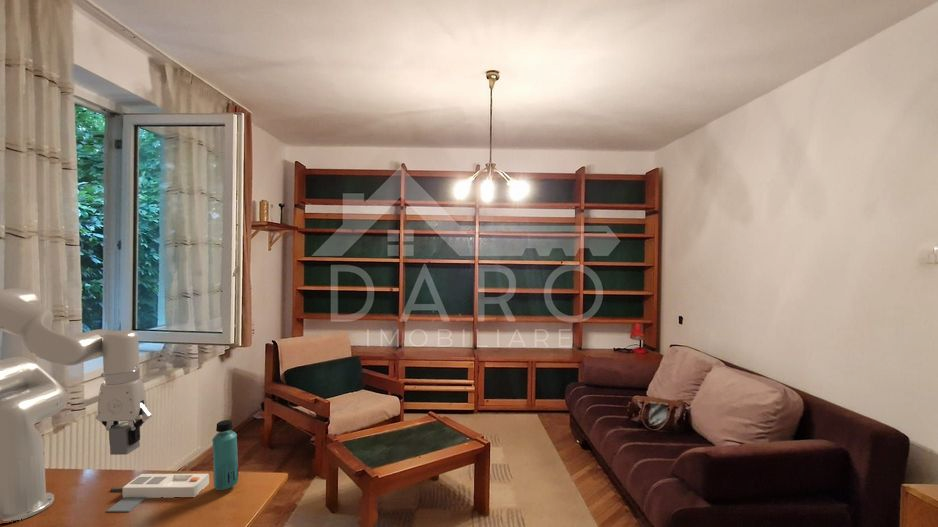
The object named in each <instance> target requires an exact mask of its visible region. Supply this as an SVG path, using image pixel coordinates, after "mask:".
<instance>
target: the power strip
mask: <svg viewBox="0 0 938 527" xmlns="http://www.w3.org/2000/svg"><path fill="white" fill-rule="evenodd" d="M208 485H210V473H140V474H139V475H138V476H136V477H135V478H134V479H132V480H131V481H129V482H128V483H126V485H124V486H123V487H112V488H110V492H122V499H123V498H124V497H146V499H156V498H157V499H161V497H163V499H165V498H166V499H167V498H169V499H172V498H173V499H175V498H174V497H194V498H195V497H197V495H199V494H200V493H201V492H202V491H203V490H204V489H205V488H206V487H207V486H208ZM202 489H203V490H202ZM201 490H202V491H201ZM200 491H201V492H200ZM199 492H200V493H199Z"/></svg>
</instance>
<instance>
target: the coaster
mask: <svg viewBox="0 0 938 527" xmlns="http://www.w3.org/2000/svg"><path fill="white" fill-rule="evenodd" d="M146 499H147V498H146V497H124V498H123V497H122V498H121V499H120V500H119V501H117V502H116V503H114V504H113V505H112V506H110V508H108V509H106V513H130V512H131V511H132V510H134V509H135V508H136V507H137V506H139V505H140V504H141V503H142V502H144V501H145V500H146Z"/></svg>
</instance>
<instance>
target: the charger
mask: <svg viewBox="0 0 938 527" xmlns="http://www.w3.org/2000/svg"><path fill="white" fill-rule="evenodd" d="M134 422H135V423H136V421H134ZM129 430H130V426H129V423H128V421H121V422H119V424H118V425H116V426H114V427H112V428H110V429H109V431H108V437H109V436H110V443H109V453H110V455H112V456H113V455H114V456H116V455H119V456H120V455H122V456H123V455H125V456H126V455H129V454H130V453H132V452H133V451H135V450H136V449H138V448H139V447H141V446H140V440H139V441H138V442H136V443H134V444H133V445H129V436H128V431H129Z"/></svg>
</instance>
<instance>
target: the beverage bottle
mask: <svg viewBox="0 0 938 527" xmlns="http://www.w3.org/2000/svg"><path fill="white" fill-rule="evenodd" d="M232 429H233V421H232V420H231V419H225V420H221V421H218V422H217V423H216V429H215V431H216V432H218V433H216V435H215V436H214V437H213V438H212V439H211V440H212V454H213V456H212V459H213V460H212V464H213V466H212V470H213V471H212V472H213V479H212V481H213V482H212V484H213V487H214V489H215V490H217V491H218V490H219V491H220V490H221V491H222V490H228V489H230V488H233V487H234V486H236V485H237V484H238V482H239V476H240V475H239V472H240V471H239V464H238V463H239V460H238V458H239V457H238V447H239V446H238V438H237V437H238V434H237V433H236V432H235V431H233V430H232Z"/></svg>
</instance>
